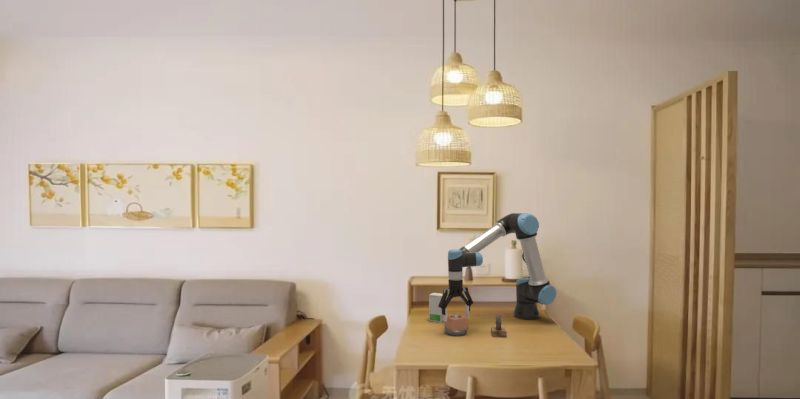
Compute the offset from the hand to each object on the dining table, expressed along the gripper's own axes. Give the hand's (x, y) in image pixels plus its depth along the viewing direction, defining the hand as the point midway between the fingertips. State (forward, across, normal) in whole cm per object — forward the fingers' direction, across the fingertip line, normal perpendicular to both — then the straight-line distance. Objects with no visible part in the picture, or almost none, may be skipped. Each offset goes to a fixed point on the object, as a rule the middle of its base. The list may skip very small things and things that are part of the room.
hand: (456, 319), depth 223 cm
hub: (+7, 0, 0) cm, 7 cm away
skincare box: (+7, -3, -26) cm, 27 cm away
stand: (+7, -18, +13) cm, 23 cm away
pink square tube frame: (+5, 0, 0) cm, 5 cm away
